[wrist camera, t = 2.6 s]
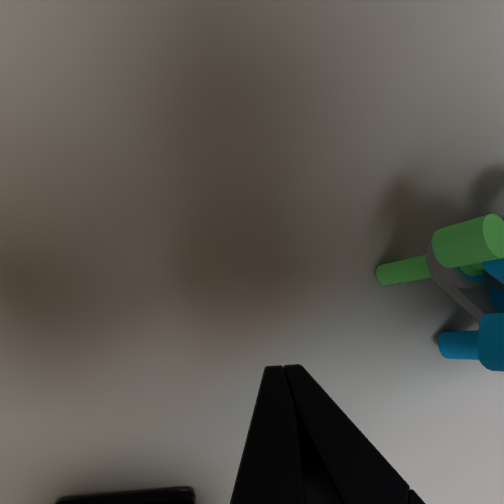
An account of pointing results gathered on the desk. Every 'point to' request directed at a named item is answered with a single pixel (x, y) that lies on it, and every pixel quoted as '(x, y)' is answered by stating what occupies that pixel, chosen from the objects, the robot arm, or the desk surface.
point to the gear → (464, 284)
